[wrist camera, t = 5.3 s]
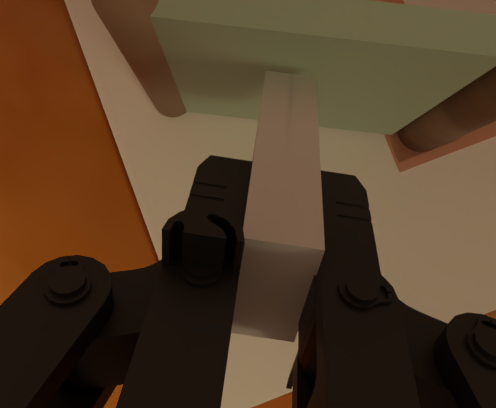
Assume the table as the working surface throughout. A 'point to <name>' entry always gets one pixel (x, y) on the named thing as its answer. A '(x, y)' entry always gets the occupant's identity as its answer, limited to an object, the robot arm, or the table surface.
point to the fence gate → (301, 55)
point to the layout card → (331, 159)
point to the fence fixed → (453, 116)
